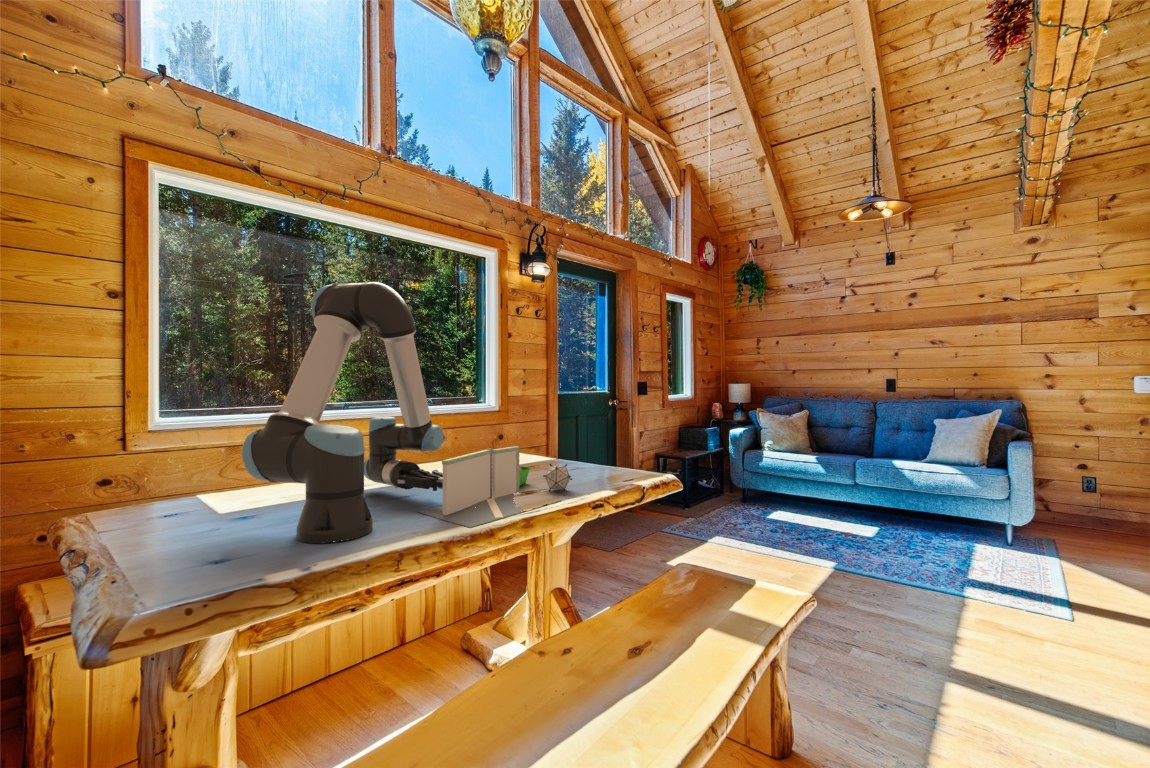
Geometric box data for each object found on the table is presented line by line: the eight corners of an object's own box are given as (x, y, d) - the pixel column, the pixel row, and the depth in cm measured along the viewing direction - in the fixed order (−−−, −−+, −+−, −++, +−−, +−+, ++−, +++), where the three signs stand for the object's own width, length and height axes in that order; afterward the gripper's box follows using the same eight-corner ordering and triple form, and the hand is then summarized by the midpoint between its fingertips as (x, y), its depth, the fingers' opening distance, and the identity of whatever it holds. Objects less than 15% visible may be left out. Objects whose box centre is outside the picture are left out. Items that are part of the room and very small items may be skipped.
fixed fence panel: (495, 498, 144) (495, 450, 144) (491, 497, 145) (491, 449, 145) (519, 492, 151) (519, 446, 151) (515, 491, 152) (515, 446, 152)
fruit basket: (515, 490, 154) (515, 453, 154) (489, 488, 157) (489, 451, 157) (531, 483, 165) (531, 448, 165) (506, 481, 168) (506, 446, 167)
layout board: (470, 528, 116) (470, 526, 116) (418, 512, 129) (418, 511, 129) (561, 501, 141) (561, 499, 141) (510, 490, 154) (510, 489, 154)
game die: (562, 501, 155) (580, 474, 158) (559, 498, 147) (578, 469, 150) (538, 485, 158) (556, 458, 160) (533, 481, 150) (553, 452, 152)
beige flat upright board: (447, 516, 124) (447, 460, 124) (442, 515, 125) (441, 459, 125) (493, 497, 144) (493, 448, 143) (488, 497, 144) (488, 448, 144)
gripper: (421, 483, 150) (475, 495, 136) (381, 491, 140) (435, 505, 125) (421, 458, 150) (475, 467, 136) (381, 464, 140) (435, 475, 125)
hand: (456, 486), depth 131 cm, fingers closed
